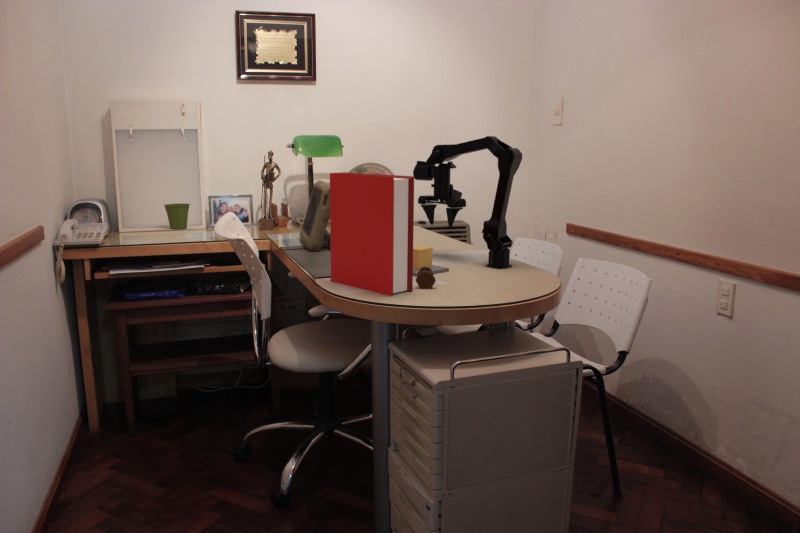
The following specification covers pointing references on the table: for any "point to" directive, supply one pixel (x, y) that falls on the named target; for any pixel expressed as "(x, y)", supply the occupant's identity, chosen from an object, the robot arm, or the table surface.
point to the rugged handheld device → (317, 218)
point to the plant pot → (177, 215)
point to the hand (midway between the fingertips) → (441, 225)
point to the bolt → (425, 278)
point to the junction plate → (433, 270)
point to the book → (372, 231)
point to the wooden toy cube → (422, 257)
